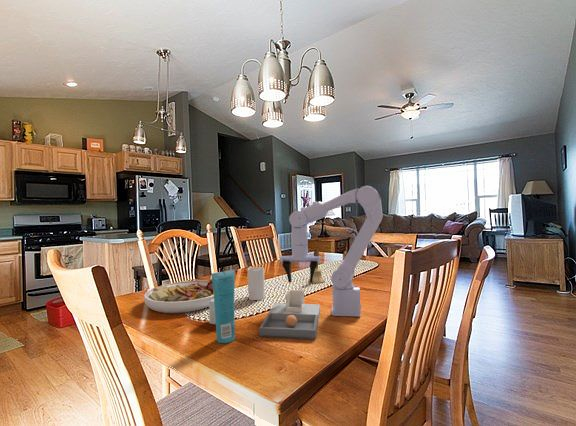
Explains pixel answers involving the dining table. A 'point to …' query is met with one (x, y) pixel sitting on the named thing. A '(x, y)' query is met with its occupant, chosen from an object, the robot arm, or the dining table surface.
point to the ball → (291, 320)
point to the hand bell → (317, 272)
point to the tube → (224, 305)
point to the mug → (256, 283)
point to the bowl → (180, 296)
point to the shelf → (306, 315)
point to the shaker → (295, 300)
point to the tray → (288, 328)
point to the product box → (212, 312)
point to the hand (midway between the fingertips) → (300, 282)
